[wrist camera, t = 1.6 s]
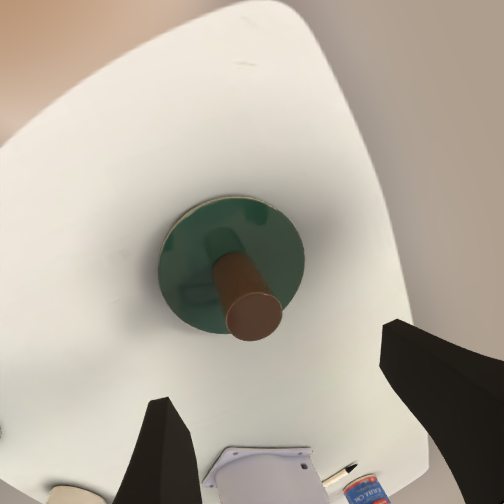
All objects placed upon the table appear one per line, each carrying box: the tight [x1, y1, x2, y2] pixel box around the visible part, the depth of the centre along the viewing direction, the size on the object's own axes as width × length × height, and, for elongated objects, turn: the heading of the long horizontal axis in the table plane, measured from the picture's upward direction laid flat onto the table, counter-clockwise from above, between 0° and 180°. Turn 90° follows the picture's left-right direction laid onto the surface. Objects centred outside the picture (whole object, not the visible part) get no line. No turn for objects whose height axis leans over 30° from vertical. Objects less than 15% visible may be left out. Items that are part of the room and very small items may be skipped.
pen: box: [322, 463, 358, 488], centre depth 33 cm, size 1×19×1 cm
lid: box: [158, 196, 305, 341], centre depth 15 cm, size 8×8×6 cm
